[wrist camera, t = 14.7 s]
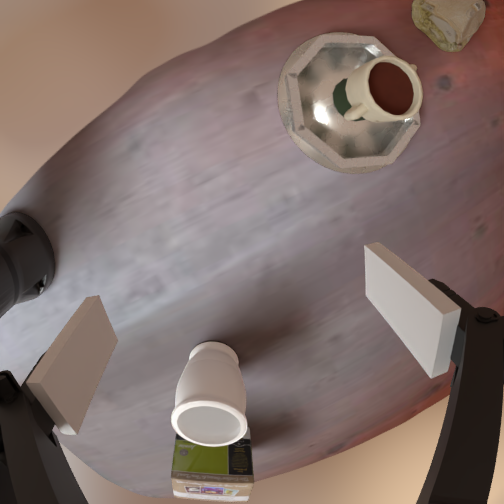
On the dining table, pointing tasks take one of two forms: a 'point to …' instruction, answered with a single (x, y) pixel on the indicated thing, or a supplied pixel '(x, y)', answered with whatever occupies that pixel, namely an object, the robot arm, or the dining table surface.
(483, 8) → the ceramic model
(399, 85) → the character mug
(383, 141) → the octagonal bowl
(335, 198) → the dining table surface
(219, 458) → the tea box
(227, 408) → the jar
